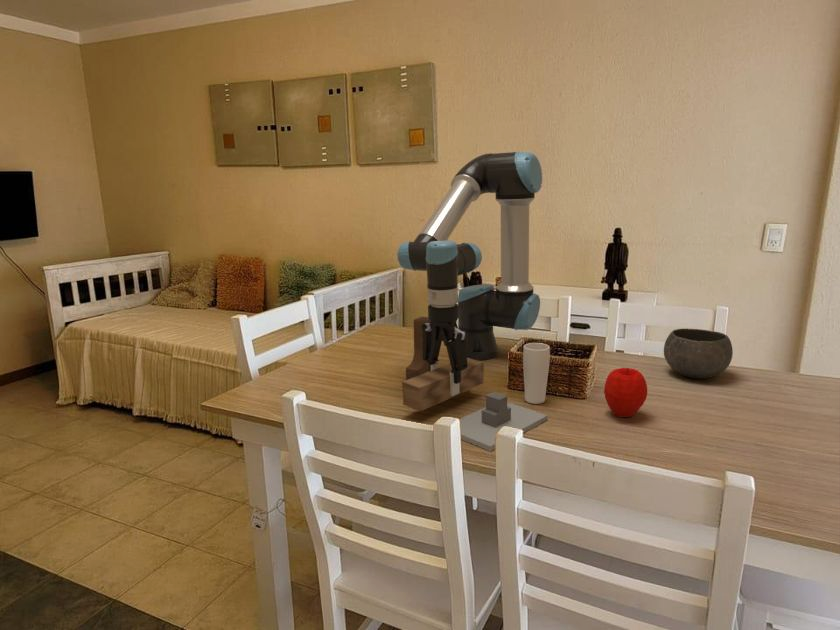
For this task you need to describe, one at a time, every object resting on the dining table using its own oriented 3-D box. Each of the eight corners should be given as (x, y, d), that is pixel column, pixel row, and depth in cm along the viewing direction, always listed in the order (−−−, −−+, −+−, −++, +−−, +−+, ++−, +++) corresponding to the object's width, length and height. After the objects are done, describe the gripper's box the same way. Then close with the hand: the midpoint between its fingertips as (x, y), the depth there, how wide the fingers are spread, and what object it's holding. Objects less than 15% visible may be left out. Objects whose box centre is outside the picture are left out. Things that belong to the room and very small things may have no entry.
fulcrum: (501, 404, 142) (501, 376, 140) (547, 419, 132) (548, 390, 130) (442, 431, 127) (442, 401, 125) (490, 451, 117) (490, 418, 115)
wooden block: (418, 385, 156) (416, 324, 152) (405, 382, 159) (403, 322, 155) (435, 375, 164) (434, 317, 159) (422, 373, 166) (421, 316, 162)
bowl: (662, 381, 155) (666, 339, 152) (661, 362, 171) (664, 323, 168) (733, 389, 148) (739, 344, 145) (725, 368, 165) (730, 328, 162)
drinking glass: (549, 397, 145) (551, 343, 142) (546, 407, 139) (548, 351, 136) (523, 394, 148) (525, 341, 144) (519, 404, 141) (521, 349, 138)
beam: (466, 377, 151) (466, 357, 149) (483, 383, 147) (483, 362, 145) (403, 404, 135) (402, 381, 133) (420, 411, 131) (419, 388, 129)
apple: (640, 427, 127) (644, 377, 124) (597, 418, 132) (600, 371, 129) (648, 412, 135) (652, 365, 132) (607, 404, 140) (610, 359, 137)
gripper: (405, 301, 139) (409, 385, 145) (461, 313, 126) (463, 405, 132) (426, 296, 144) (429, 377, 150) (482, 306, 131) (483, 396, 137)
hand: (445, 390), depth 141 cm, fingers closed on beam, 6 cm apart
